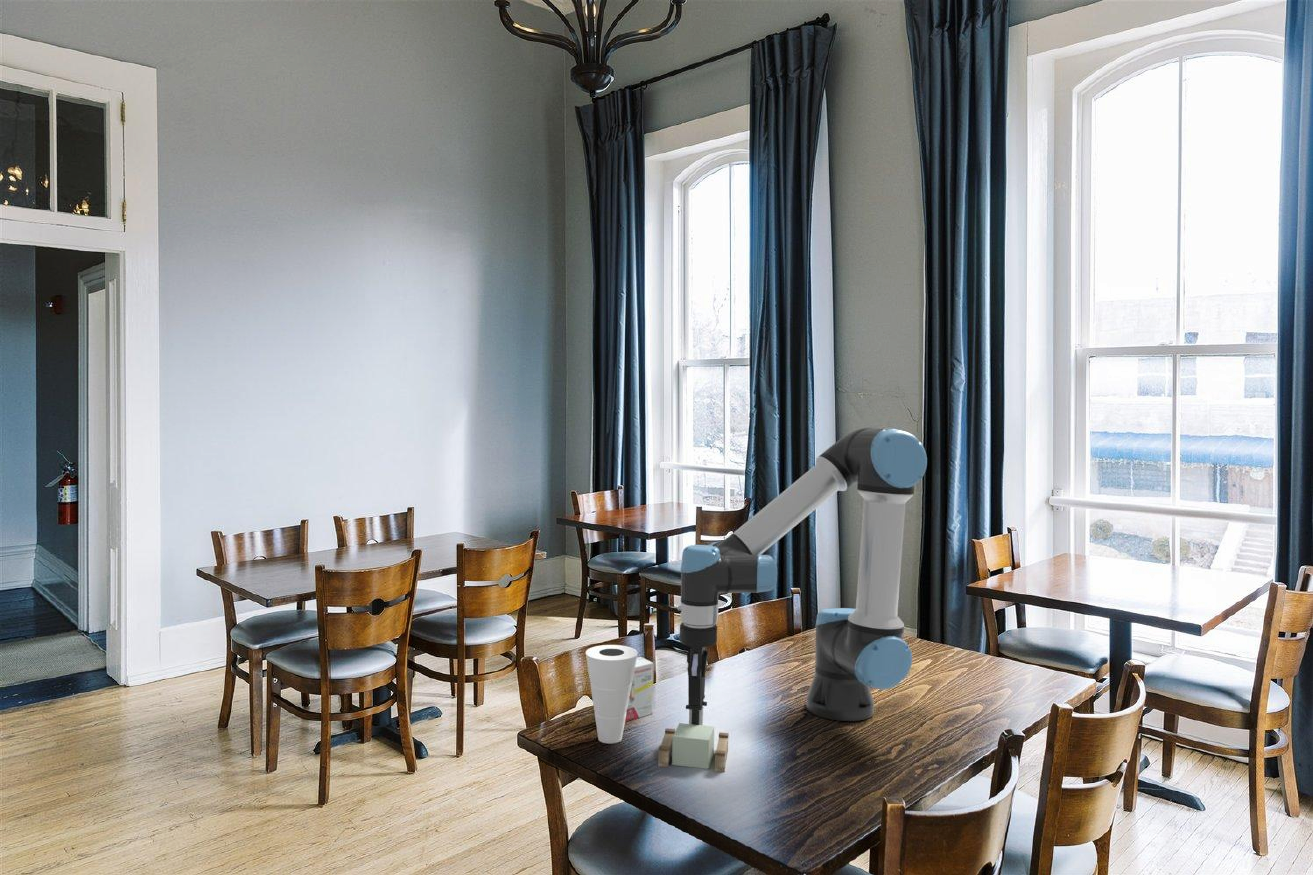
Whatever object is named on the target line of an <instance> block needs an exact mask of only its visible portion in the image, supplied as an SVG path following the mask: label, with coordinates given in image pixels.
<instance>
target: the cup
mask: <svg viewBox="0 0 1313 875" xmlns="http://www.w3.org/2000/svg"><path fill="white" fill-rule="evenodd" d="M638 653H639V652H638V651H637V649H635V648H634V647H631V646H626V645H620V644H602V645H595V646H592V647H589V648H588V649H586V650H585V657H586V664H587V665H586V666H587V671H588V679H589V681H590V682H589V685H590V692H591V698H592V706H593V709H594V717H595V724H596V732H597V739H598V741H599V743H600V742H601V743H603V744H610V745H611V744H617V743H619V742H622V740H623V734H624V728H625V724H626V722H625V719H626V710H627V707H628V702H629V697H630V691H631V686H632V680H633V676H634V670H635V665H636V659H637V658H638Z"/></svg>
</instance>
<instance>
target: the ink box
mask: <svg viewBox="0 0 1313 875" xmlns="http://www.w3.org/2000/svg"><path fill="white" fill-rule="evenodd" d="M654 663H655V662H652V661H650V660H649V659H646V658H644V657H641V656H640V657H638V656H637V659H636V665H635V670H634V676H633V680H632V686H631V691H630V697H629V702H628V707H627V710H626V719H625V723H626V722H629V721H632V719H633V720H636V719H638V718H642V717H646V716H649V715H652V714H654V711H653V708H654V707H653V706H654V705H653V703H654V702H653V701H654V671H655V670H654V665H655V664H654ZM635 718H636V719H635Z"/></svg>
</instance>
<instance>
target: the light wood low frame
mask: <svg viewBox="0 0 1313 875" xmlns="http://www.w3.org/2000/svg"><path fill="white" fill-rule="evenodd" d="M675 731H676V729H675V728H667V727H666V728H665V730H664V734H663V735H664V736H663V737H662V741H661V743H660V745H658V751H657V752H658V767H662V768H663V767H664V768H667V767H669V764H670V762H671V759H672V751H673V735H674V733H675ZM728 752H729V732H720V731H719V733H718V740H717V745H716V750H714V758H715V760H714V772H720V773H721V772H723V773H724V772H725V771H726V765H727V760H728V759H727V758H728Z"/></svg>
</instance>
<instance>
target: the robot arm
mask: <svg viewBox="0 0 1313 875" xmlns="http://www.w3.org/2000/svg"><path fill="white" fill-rule="evenodd" d="M927 465H928V457H927V452H926V450H925V447H924V446H923V443H922V442H920V440H919V439H918V438H917V437H916V436H915V435H914V434H912V433H910V432H908V431H904V430H900V429H897V428H874V427H862V428H858V429H855V430H853V431H850V432H849V433H848V434H846V435H844V436H843V437H841V438H840V439H839V440H837V441H836V442H835V443H833V444H832V445H831V446H830V447H828V448H827V449H825V451H823V452H822V453H821V454H820V455H818V456H817V457H816V460H815V465H813V467H811V468H810V469H809V470H807V472H805V473H804V474H803V475H801V476H800V477H799V478H798V479H796V480H795V481H794V482H792V484H791V485H789V486H788V487H787V488H786V489H785V490H784V491H783V490H782V492H781V493H780V494H778V495H777V496H776V497H775V498H773V500H771V501H770V502H769V503H768V504H767V505H765V506H764V507H763V508H762V509H760V510H759V511H758V512H756V514H754V515H753V516H752V517H751V518H750V519H749V520H747V521H746V522H745V523H743V524H742V525H741V526H740V527H739V528H738V529H736V530H735V531H734V532H733V533H731V534H730V535H729V536H727V538H725V539H724V540H722V541H714V542H711V543H710V544H693V545H692V544H691V545H688V546H686V547H685V548H683V550H682V555H681V566H680V605H677V608H676V609H677V611H681V612H680V617H679V619H680V622H681V623H680V624H679V642H680V643H681V644H682V645H684V646H688V647H689V648H690V649H688V653H687V654H686V662H687V676H688V677H687V682H688V685H687V686H688V689H687V690H688V692H687V693H688V694H687V695H688V696H687V697H688V704H686V705H685V709H686V710H688V711H689V712H688V724H693V725H703V726H704V707H707V705H708V702H707V701H704V700H705V698H706V695H705V691H706V690H705V689H706V673H707V668H708V667H707V666H708V660H709V650H707V649H706V648H709V647H712V646H714V645H716V644H717V642H718V626H717V623H718V622H719V594H743V593H748V594H749V593H750V594H751V593H756V594H759V593H763V592H764V593H765V592H771V591H772V590H773V589H774V588H775V587H776V584H777V582H778V581H777V580H778V568H777V564H776V561H775V559H774V558H773V556H771V555H770V554H764V553H765V552H766V551H767V550H768V549H770V548H771V547H772V546H773V545H774V544H776V543H777V542H778V541H780V540H781V539H782V538H783V537H784V536H785V535H786V534H787V533H789V532H790V531H791V530H792V529H794V527H796V526H797V525H799V523H801V522H802V521H803V520H805V519H806V518H807V517H808V516H809V515H810V514H811V513H814V511H815V510H817V509H818V508H819V507H820V506H821V505H823V504H824V503H825V502H826V501H827V500H829V499H830V498H831V497H832V496H833V495H835V494H836V493H837V492H838V491H840V492H845V491H847V490H848V489H849V488H850V487H851V486H852V485H854V484H856V485H857V487H856V488H857V489H856V491H857V492H858V494H859V495H860V497H862V499H863V506H862V518H861V519H862V520H861V532H860V547H859V561H858V573H857V589H856V590H857V591H856V603H855V608H850V607H849V608H848V607H841V608H839V607H837V608H836V607H835V608H825V609H822V610H819V612H818V613H817V615H816V621H815V622H816V623H815V626H814V627H815V656H814V657H815V660H814V661H815V663H814V665H815V666H814V675H813V677H812V680H811V683H810V686H809V689H808V691H807V695H806V701H805V702H806V704H805V706H806V709H807V710H808V711H809V712H810V713H811V714H813V715H816V716H818V717H820V718H824V719H828V720H831V721H832V720H833V721H839V722H840V721H842V722H857V721H863V720H868V719H869V718H871V717H872V716H874V714H875V702H874V697H873V695H872V691H871V688H872V689H876V690H883V691H884V690H889V689H892V688H895V687H897V686H898V685H900V683H901V682H902V681H904V680H905V679H906V678H907V676H908V675H909V673H910V671H911V668H912V664H913V652H912V650H911V648H910V647H909V645H908V643H907V642H906V641H905V640H904V630H905V624H904V622H903V621H902V619H901V618H900V617H899V616H898V609H899V599H900V598H899V597H900V583H901V571H902V570H901V568H902V557H903V542H904V529H905V528H904V527H905V516H906V514H905V513H906V503H907V502H908V501H909V500H910V499H911V498H913V497H914V495H915V485H916V484H918V483H919V482H920V480H921V478H923V477H924V475H925V473H926V471H927V467H928V466H927Z"/></svg>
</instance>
